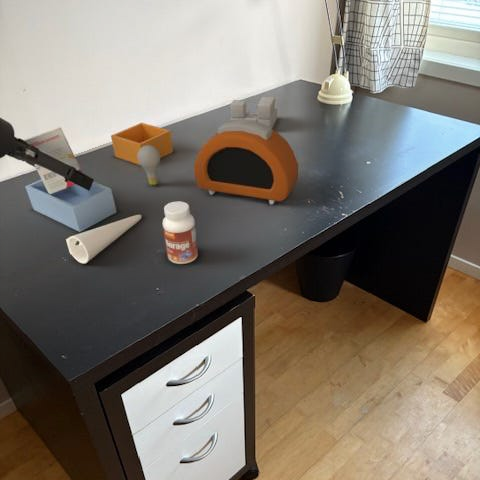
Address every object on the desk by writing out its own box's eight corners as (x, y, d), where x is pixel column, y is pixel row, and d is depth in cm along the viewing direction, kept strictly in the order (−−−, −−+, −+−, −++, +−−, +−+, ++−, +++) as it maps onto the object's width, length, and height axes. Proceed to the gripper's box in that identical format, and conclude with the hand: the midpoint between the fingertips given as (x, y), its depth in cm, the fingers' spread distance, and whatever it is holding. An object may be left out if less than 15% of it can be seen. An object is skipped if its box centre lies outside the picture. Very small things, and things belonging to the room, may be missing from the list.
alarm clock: (195, 193, 116) (187, 124, 105) (210, 178, 122) (204, 110, 111) (287, 208, 109) (289, 135, 98) (298, 190, 115) (301, 120, 104)
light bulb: (143, 181, 122) (136, 142, 116) (164, 179, 123) (158, 140, 116) (142, 190, 118) (134, 151, 112) (164, 189, 119) (158, 149, 112)
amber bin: (115, 156, 134) (110, 135, 130) (145, 143, 141) (141, 122, 137) (143, 166, 129) (139, 144, 125) (173, 151, 135) (170, 130, 131)
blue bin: (33, 209, 113) (25, 186, 109) (70, 192, 119) (63, 169, 115) (80, 232, 105) (72, 207, 101) (116, 212, 111) (111, 188, 107)
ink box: (84, 178, 111) (61, 126, 105) (86, 181, 106) (62, 127, 101) (48, 191, 109) (22, 139, 103) (48, 195, 105) (21, 141, 99)
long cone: (160, 232, 107) (90, 267, 94) (140, 227, 110) (71, 259, 97) (156, 208, 103) (84, 240, 91) (136, 203, 107) (64, 233, 94)
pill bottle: (163, 264, 94) (155, 214, 87) (172, 246, 99) (165, 198, 92) (194, 266, 94) (188, 216, 86) (201, 248, 98) (196, 200, 91)
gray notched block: (277, 119, 152) (277, 92, 146) (270, 133, 143) (270, 105, 138) (240, 117, 154) (239, 91, 149) (231, 131, 145) (230, 103, 140)
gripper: (-57, 136, 95) (32, 178, 114) (14, 166, 83) (100, 207, 102) (-43, 101, 95) (44, 149, 113) (30, 126, 83) (114, 175, 102)
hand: (71, 177), depth 108 cm, fingers open, 13 cm apart
